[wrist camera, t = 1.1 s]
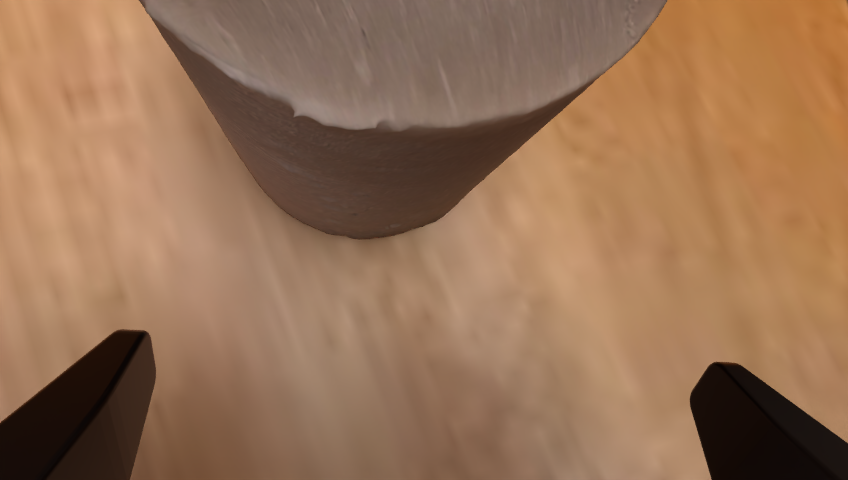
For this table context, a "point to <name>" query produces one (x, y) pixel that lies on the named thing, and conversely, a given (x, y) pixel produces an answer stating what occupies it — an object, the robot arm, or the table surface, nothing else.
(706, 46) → the table surface
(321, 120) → the pillar candle
